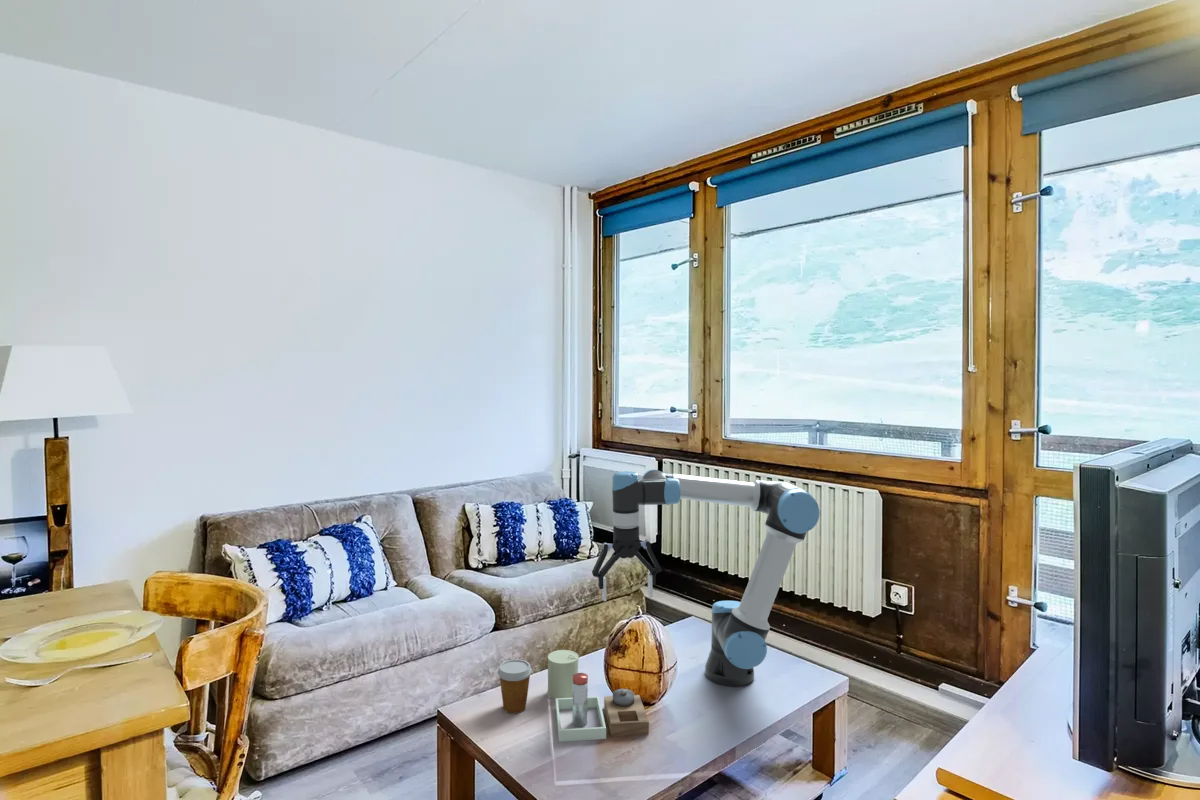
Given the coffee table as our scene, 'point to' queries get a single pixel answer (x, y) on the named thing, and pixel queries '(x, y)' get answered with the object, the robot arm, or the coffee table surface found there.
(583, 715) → the red capped bottle
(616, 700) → the socket block
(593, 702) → the tray
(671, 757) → the coffee table surface
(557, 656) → the can
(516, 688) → the disposable coffee cup
